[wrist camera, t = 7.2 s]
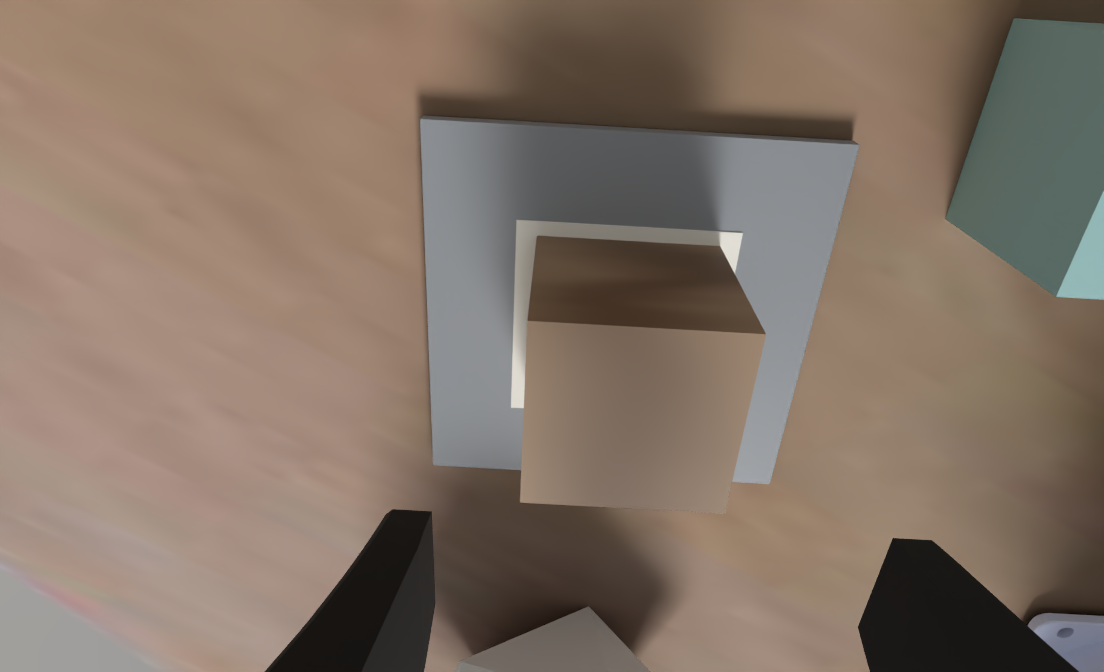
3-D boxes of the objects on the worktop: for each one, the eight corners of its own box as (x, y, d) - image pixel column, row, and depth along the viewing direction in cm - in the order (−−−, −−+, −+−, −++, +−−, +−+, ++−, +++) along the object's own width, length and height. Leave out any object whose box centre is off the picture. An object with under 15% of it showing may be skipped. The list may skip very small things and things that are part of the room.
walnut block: (720, 246, 17) (766, 333, 13) (692, 398, 19) (724, 513, 15) (536, 235, 17) (527, 321, 13) (529, 389, 19) (520, 502, 15)
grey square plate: (853, 140, 16) (860, 145, 16) (766, 475, 21) (770, 484, 21) (423, 115, 16) (420, 119, 16) (435, 456, 21) (432, 465, 20)
